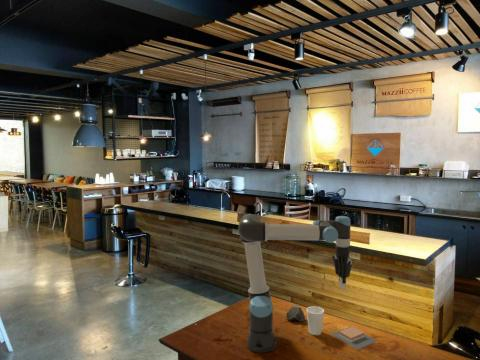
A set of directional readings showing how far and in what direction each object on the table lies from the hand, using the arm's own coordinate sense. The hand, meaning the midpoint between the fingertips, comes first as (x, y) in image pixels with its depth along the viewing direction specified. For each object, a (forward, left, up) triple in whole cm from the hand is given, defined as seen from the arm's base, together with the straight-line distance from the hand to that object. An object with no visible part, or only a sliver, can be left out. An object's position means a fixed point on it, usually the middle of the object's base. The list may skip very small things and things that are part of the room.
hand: (342, 288), depth 200 cm
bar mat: (0, -8, -24) cm, 26 cm away
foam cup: (-13, +7, -25) cm, 29 cm away
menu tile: (0, -3, -23) cm, 23 cm away
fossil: (-11, +26, -25) cm, 38 cm away
